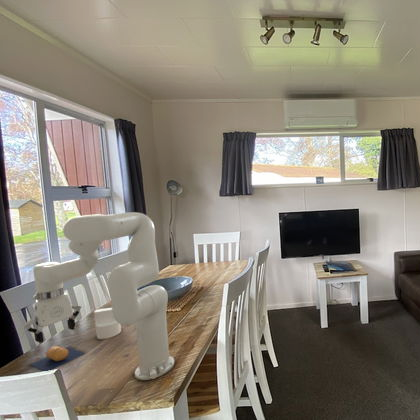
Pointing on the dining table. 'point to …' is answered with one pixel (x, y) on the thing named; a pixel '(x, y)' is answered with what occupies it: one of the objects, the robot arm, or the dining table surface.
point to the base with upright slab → (106, 323)
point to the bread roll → (57, 353)
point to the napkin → (51, 364)
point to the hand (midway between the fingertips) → (56, 335)
